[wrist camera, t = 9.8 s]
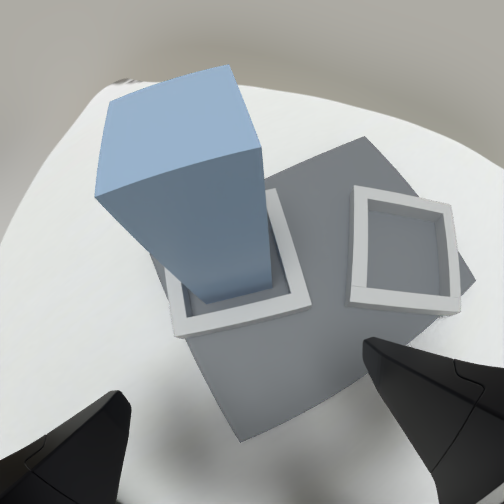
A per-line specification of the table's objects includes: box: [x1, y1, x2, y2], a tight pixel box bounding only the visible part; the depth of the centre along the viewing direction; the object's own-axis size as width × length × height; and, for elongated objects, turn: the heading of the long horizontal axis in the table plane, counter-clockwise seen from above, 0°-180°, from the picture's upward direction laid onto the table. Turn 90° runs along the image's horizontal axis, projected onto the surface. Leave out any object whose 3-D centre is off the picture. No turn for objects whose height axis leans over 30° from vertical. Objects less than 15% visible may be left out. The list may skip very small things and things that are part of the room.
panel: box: [150, 136, 476, 443], centre depth 19 cm, size 22×17×2 cm
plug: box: [95, 64, 272, 304], centre depth 14 cm, size 5×4×13 cm
